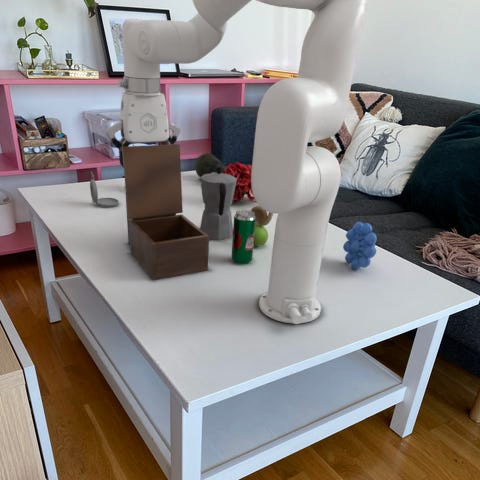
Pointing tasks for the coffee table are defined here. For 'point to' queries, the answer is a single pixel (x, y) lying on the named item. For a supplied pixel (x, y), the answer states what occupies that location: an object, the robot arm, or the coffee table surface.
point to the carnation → (239, 171)
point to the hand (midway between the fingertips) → (145, 166)
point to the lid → (152, 180)
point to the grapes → (360, 245)
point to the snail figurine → (261, 225)
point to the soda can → (243, 236)
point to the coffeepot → (217, 204)
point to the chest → (168, 246)
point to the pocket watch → (102, 201)
